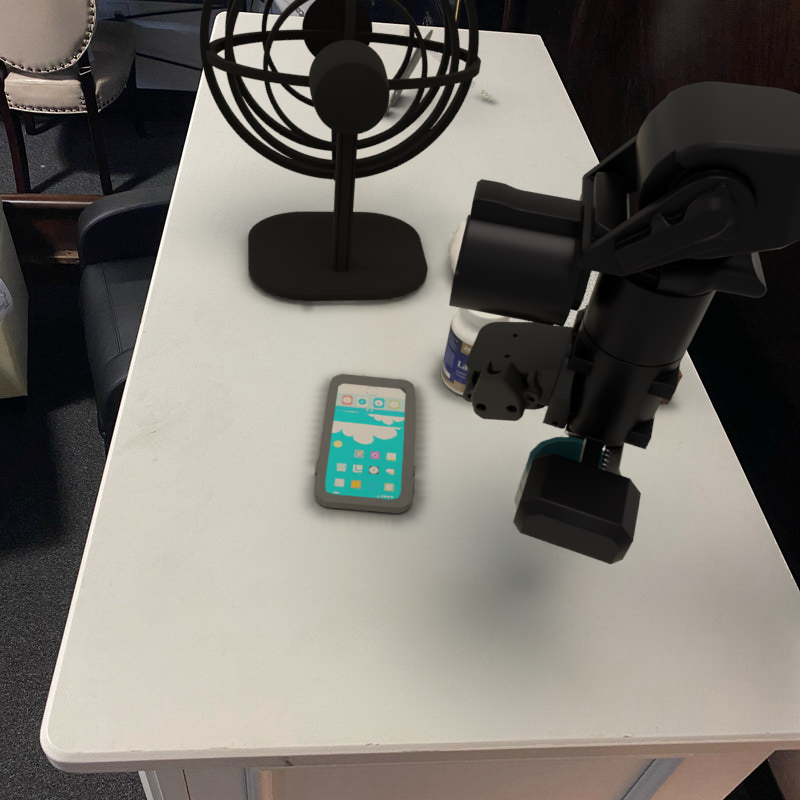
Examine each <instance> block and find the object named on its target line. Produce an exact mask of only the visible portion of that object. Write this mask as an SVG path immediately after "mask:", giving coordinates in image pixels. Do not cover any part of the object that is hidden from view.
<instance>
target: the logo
mask: <svg viewBox="0 0 800 800" xmlns="http://www.w3.org/2000/svg"><path fill="white" fill-rule="evenodd" d="M405 30H406V31H404V34H405V35H409V29H408V28H406V29H405ZM433 33H434V29H430V30H429V31H428V33H427V34H426V35H425V36H424V38H423V39H428V40H431V38H432V36H433ZM404 34H403V35H404ZM415 37H416V35H415ZM427 54H429V55H432V57H433V58H434V59H437V61H439V63H440V62H441V59H440V58H442V54H438V52H434V51H427ZM435 54H437V55H435ZM421 59H422V56H421V50H420V49H419V48H415V50H414V52H413V53H412V55H411V58H410V61H409V64H408V66H407V68H406V70H405V72H404V74H403V75H402V77H401V78H400V79H408V78H410V77H411V75H412V74H413V72H414V70H415V69H416V67H417V66H418V64H419V62H420V60H421ZM448 66H450V63H449V65H448ZM449 69H450V67H448V69H447V70H449ZM459 71H460V70H458V72H459ZM475 85H476V82H472V83H471V88H472V89H474V86H475ZM403 91H404V90H393V92H392V95H391V97H390V98H389V105H388V108H387V111H386V113H385V115H384V117H386V115H387V114H388V113H389V111H390V109H391V108H392V107H393V106H394V105H395V103H396V102H397V101H398V99H399V98H400V96H401V95H402V93H403ZM479 94H480V95H481V96H483V98H484V99H486V100H487V101H488V102H490V101H491V100H492V98H493V96H492V95H490V94H489V93H488V92H487V91H486V90H484V89H482V90H481V92H480V93H479Z"/></svg>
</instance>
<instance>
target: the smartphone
mask: <svg viewBox="0 0 800 800" xmlns="http://www.w3.org/2000/svg"><path fill="white" fill-rule="evenodd" d="M326 400H327V401H326V408H325V415H324V420H323V421H324V422H323V428H322V434H321V435H322V436H321V442H320V449H319V457H318V459H317V460H316V463H315V468H314V469H315V470H314V474H315V475H316V477H315V489H314V490H315V492H314V493H315V494H314V495H315V499H316V502H317V503H318V504H319V505H321V506H322V507H325V508H332V509H344V510H355V511H367V512H380V513H391V514H401V513H403V512H406V511H407V510H409V509H410V508H411V507H412V503H413V497H414V496H413V495H414V492H415V486H416V485H415V484H416V483H415V482H416V481H415V480H414V476H416V464H415V434H416V433H415V431H416V388H415V386H414V384H413V383H412V382H411V381H409V380H407V379H401V378H389V377H380V376H379V377H378V376H370V375H369V376H368V375H360V374H359V375H357V374H348V373H339V374H336V375H335V376H332V378H331V380H330V382H329V387H328V393H327V399H326Z"/></svg>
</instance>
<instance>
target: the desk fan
mask: <svg viewBox="0 0 800 800" xmlns="http://www.w3.org/2000/svg"><path fill="white" fill-rule="evenodd" d="M245 1H246V0H228V2H227V8H226V14H225V25H224V36H222V37H219V38H216V39H214V40H211V41H210V23H211V16H212V10H213V7H214V2H215V0H203V3H202V8H201V15H200V25H199V49H200V58H201V63H202V65H201V66H202V69H203V73H204V77H205V81H206V83H207V87H208V89H209V92H210V95H211V96H212V98H213V100H214V103H215V105H216V107H217V108H218V110H219V112H220V114H221V115H222V117H223V118H224V119H225V121H226V123H227V124H228V125H229V126H230V128H231V129H232V130H233V131H234V133H236V135H237V136H238V137H239V138H240V139H241V140H242V141H243V142H244V143H245V144H246V145H247V146H249V148H251V149H252V150H254V151H255V152H256V153H257V154H259V155H260V156H261V157H263V158H264V159H267V160H268V161H269V162H271V163H273V164H275V165H277V166H279V167H280V168H283V169H285V170H288V171H291V172H293V173H296V174H300V175H303V176H307V177H310V178H315V179H324V180H333V181H334V196H333V211H322V210H321V211H319V210H318V211H312V210H311V211H310V210H308V211H306V210H305V211H303V210H302V211H288V212H281V213H276V214H274V215H270V216H268V217H265V218H263V219H260V220H259V221H258V222H257V223H255V224H254V225H253V226H251V228H250V229H249V232H248V235H247V253H248V254H247V267H248V268H247V269H248V276H249V278H250V280H251V282H252V283H253V284H254V285H255V286H256V287H257V288H259V289H260V290H262V291H263V292H265V293H267V294H269V295H272V296H273V297H274V296H275V297H277V298H281V299H285V300H290V301H294V302H295V301H298V302H362V301H364V302H370V301H371V302H373V301H374V302H375V301H377V302H378V301H388V300H393V299H398V298H402V297H405V296H407V295H410V294H412V293H415V291H417V290H419V289H420V288H421V287H422V286H423V285H424V283H425V282H426V280H427V278H428V271H429V268H428V262H427V258H426V255H425V254H426V253H425V250H424V248H423V243H422V240H421V236H420V234H419V232H418V231H417V230H416V229H415V228H414V226H412V225H411V224H410V223H408V222H406V221H404V220H403V219H400V218H399V217H398V218H397V217H396V216H392V215H388V214H384V213H378V212H373V211H372V212H371V211H354V205H355V202H354V201H355V190H356V189H355V188H356V179H363V178H368V177H372V176H376V175H379V174H382V173H386V172H388V171H391V170H393V169H396V168H397V167H400V166H402V165H404V164H405V163H408V162H409V161H411V160H412V159H414V158H415V157H417V156H419V155H420V154H422V153H423V152H424V151H426V149H428V148H429V147H430V146H432V145H433V143H435V141H437V139H439V138H440V136H441V135H443V133H444V132H445V131H446V130H447V128H448V127H449V126H450V125H451V124H452V122H453V120H454V119H455V117H456V116H457V114H458V113H459V111H460V110H461V108H462V106H463V104H464V102H465V100H466V98H467V96H468V94H469V91H470V89H471V87H472V84H473V79H474V78H475V77H478V75H479V74H480V71H481V66H482V59H481V58H480V57H479V48H480V46H479V45H480V30H479V29H480V27H479V17H478V12H477V10H478V9H477V7H476V1H475V0H464V5H465V9H466V13H467V14H466V16H467V26H468V44H467V45H468V46H467V49H465V48H462V47H461V43H460V42H461V41H460V33H459V26H458V23H457V18H456V16H455V15H456V14H455V12H454V9H453V6H452V3H451V2H450V0H439V4H440V7H441V13H442V18H443V19H442V20H443V32H444V35H443V36H444V37H443V42H442V41H438V40H437V41H436V40H432V39H430V40H428V39H424V38H423V35H422V33H421V31H420V28H419V27H418V25H417V23H416V21H415V20H414V15H413V11H412V8H411V5H410V2H409V0H402V2H403V5H404V6H403V5H402V4H401V3H400V2H398V0H382V1H384V2H385V3H387V4H389V6H391V7H392V8H394V9H395V10H396V11H397V12H399V14H401V16H402V17H403V18H404V20H406V21H407V23H408V28H409V29H408V33H409V34H408V35H401V34H394V33H385V32H384V33H383V32H375V31H373V22H372V18H371V15H370V13H369V10H368V9H367V7H366V6H365V5H364V4H363V2H361V1H360V0H314V1H313V2H312V3H311V4H310V5H309V7H308V8H307V9H306V12H305V13H304V15H303V20H302V25H301V28H300V29H280V28H281V27H282V25H284V23H285V22H286V20H287V19H288V18H289V17H291V15H292V14H293V13H294V12H295V11H296V10H297V9H299V8H300V7H301V6H303V5H304V4H306V3H307V2H309V1H310V0H293V1H292V2H291V3H289V4H288V5H287V6H286V7H285V8H284V10H283V11H282V12H281V13H280V14H279V16H278V17H277V19H276V20H275V22H274V24H273V25H272V27H271V28H270V30H267V27H268V19H269V14H270V11H271V7H272V5H273V2H274V0H266V1H265V5H264V8H263V11H262V18H261V19H262V20H261V30H260V31H249V32H243V33H242V32H241V33H237V34H234V32H235V28H236V24H237V19H238V17H239V13H240V11H241V9H242V7H243V4H244V2H245ZM415 35H416V36H415ZM277 41H278V42H281V41H282V42H283V41H303V42H304V44H305V47H306V49H307V50H308V52H309V53H310V54H311V55H312V56H313V57H314V59H313V61H312V63H311V65H310V68H309V72H308V75H304V74H293V73H287V72H286V73H285V72H279V71H278V69H277V67H276V65H275V63H274V61H273V59H272V56H271V50H272V46H273V43H274V42H277ZM259 43H262V49H263V57H262V68H257V67H254V66H253V67H252V66H248V65H244V64H241V63H237V60H236V56H235V55H236V54H235V49H234V48H235V47H240V46H244V45H249V44H259ZM371 43H374V44H382V45H383V44H384V45H392V46H393V45H394V46H399V47H406V52H405V55H404V58H403V60H402V63H401V65H400V66H399V68H398V70H397V71H396V73H395V75H394V76H393V77H392V78H388V74H387V70H386V66H385V64H384V63H385V62H384V61H383V59H382V58H381V56H380V55H379V54H378V52H377V51H376V50H375V49H374V48H373V47H371V46H370V44H371ZM416 48H419V49H420V50H421V74H420V77H411V78H410V77H409V78H408V79H400V78H401V77H402V75H403V74H404V72H405V70H406V68H407V66H408V64H409V61H410V59H411V57H412V55H413V51H414V49H416ZM222 51H224V52H223V54H224V57H222V56H220V55H219V53H221V52H222ZM427 51H428V52H433V51H434V52H435V53H436V52H437V54H441V56H442V57H440V60H441V61H440V62H439V65H438V69H437V72H436V74H435V75H433V76H428V70H429V63H428V61H429V60H428V52H427ZM434 52H433V53H434ZM460 61H463V62H464V63H465V65H464V69H461V70H460V69H459V68H460ZM449 64H450V65H449ZM214 68H215V69H217V70H220V71H222V72H224V73H225V74H226V79H227V83H228V86H229V89H230V93H231V94H232V98H233V99H234V102H235V104H236V106H237V108H238V110H239V111H240V113H241V115H242V116H243V118H244V120H245V121H246V122H247V123H248V125H249V126H250V127H251V129H252V130H253V132H255V134H257V135H258V137H260V139H262V140H263V141H264V142H265V143H266V144H265V143H264V142H263V141H261V140H260V139H259V138H258V137H256V136H255V135H254V134H253V133H252V132H251V131H249V129H248V128H247V127H246V126H245V125H244V124H243V123H242V121H241V120H240V119H239V118H238V117H237V115H236V114H235V113H234V111H233V110H232V108H231V106H230V105H229V103H228V101H227V99H226V98H225V95H224V94H223V91H222V89H221V88H220V85H219V82H218V80H217V76H216V74H215V69H214ZM448 68H449V69H448ZM269 69H270V70H269ZM447 71H448V73H447ZM458 71H459V72H458ZM243 78H245V79H246V78H247V79H250V80H254V81H259V82H264V88H265V92H266V94H267V98H268V100H269V102H270V104H271V107H272V108H273V110H274V111H275V113H276V115H277V116H278V118H279V119H280V120H281V121H282V123H283V124H284V125H285V126H284V125H283V124H282V123H280V122H279V121H277V120H276V119H275V118H273V117H272V116H271V115H270V114H269V113H267V112H266V111H265V110H264V108H262V106H261V105H260V104H259V103H258V102H257V100H256V99H255V98H254V96H253V95H252V94H251V92H250V90H249V89H248V87H247V85H246V83H245V81H244V79H243ZM271 83H272V84H278V85H279V84H280V86H281V87H282V88H283V89H284V90H285V91H286V92H287V93H288V94H290V95H291V96H292V97H294V98H295V99H296V100H298V101H300V102H301V103H303V104H305V105H307V106H310V107H312V108H314V109H315V113H316V115H317V116H318V118H319V119H320V121H321V122H322V123H323V124H324V125H325V126H326V127H327V128H329V129H330V131H331V134H330V136H331V141H330V140H326V139H322V138H319V137H317V136H314V135H312V134H310V133H308V132H306V131H304V130H303V129H302V128H300V127H298V126H297V125H296V124H295V123H294V122H293V121H292V120H291V119H290V118H289V117H288V116H287V115H286V114H285V113H284V111H283V109H282V108H281V106H280V105H279V104H278V102H277V99H276V97H275V95H274V91H273V89H272V87H271ZM471 83H472V84H471ZM456 84H459V85H458V87H457V89H456V92H455V94H454V96H453V97H452V95H453V92H454V90H455V86H456ZM292 86H295V87H304V88H309V93H310V97H311V98H309V97H307V96H306V95H304V94H302V93H300V92H299V91H297V90H296V89H295V88H293V87H292ZM441 87H444V88H443V90H442V93H441V95H440V97H439V99H438V101H437V102H436V104H435V106H434V108H433V109H432V111H431V113H430V114H429V115H428V116H427V118H426V119H425V120H424V122H423V123H422V124H421V125H420V126H419V127H418V128H417V129H416V130H415V131H414V132H412V133H411V134H410V135H408V136H407V137H406V138H405V139H404V140H402V141H401V142H399V143H396V145H394V146H392V147H390V148H388V149H386V150H384V151H381V152H379V153H375V154H373V155H369V156H364V157H360V158H357V157H358V150H363V149H367V148H371V147H374V146H377V145H380V144H382V143H385V142H387V141H388V140H391V139H393V138H395V137H396V136H398V135H399V134H401V133H403V132H404V131H405V130H406V129H408V128H409V127H410V126H412V125H413V124H414V123H415V122H416V121H417V120H418V119H419V118H420V117H421V116H422V115H423V114H424V113H425V112H426V110H427V109H428V108H429V106H430V105H431V104H432V103H433V101H434V100H435V98H436V96H437V95H438V93H439V91H440V89H441ZM426 89H428V90H427V91H426V93H425V95H424V92H425V90H426ZM394 90H403V91H404V90H405V91H407V90H417V91H416V94H415V96H414V98H413V100H412V102H411V104H410V105H409V107H408V109H407V110H406V112H405V113H404V114H403V115H402V116H401V117H400V118H399V120H398V121H397V122H395V123H394V124H393V125H391V126H390V127H389V128H387V129H385V130H384V131H382V132H379V133H377V134H373V135H370V136H368V137H365V138H359V135H360V134H364V133H367V132H368V131H370V130H372V129H374V128H375V127H376V126H377V125H378V124H380V122H381V121H382V120H383V118H385V116H386V115H385V113H386V111H387V108H388V106H389V104H390V98H391V97H390V92H391V91H394ZM423 95H424V96H423ZM451 97H452V99H451ZM450 99H451V102H450ZM447 106H448V107H447ZM250 109H251V110H250ZM445 109H446V110H445ZM252 112H253V113H254V114H255V115H256V116H257V117H258V119H259V120H261V122H263V123H264V124H265V125H266V126H267V127H269V129H271V130H272V131H274V132H275V133H277V134H279V135H280V136H282V137H283V138H285V139H287V140H289V141H291V142H294V143H295V144H297V145H300V146H303V147H307V148H310V149H314V150H320V151H325V152H331V159H330V158H322V157H317V156H314V155H311V154H308V153H304V152H301V151H299V150H297V149H296V148H292V147H290V146H289V145H287V144H286V143H284V142H282V141H281V140H279V139H278V138H276V137H275V136H274V135H273V134H272V133H270V132H269V131H268V130H267V129H266V128H265V127H264V126H263V125H262V124H261V123H260V121H258V119H257V118H256V116H255V115H254V114H253V113H252ZM384 115H385V116H384ZM267 144H268V145H269V146H268V145H267Z"/></svg>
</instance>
